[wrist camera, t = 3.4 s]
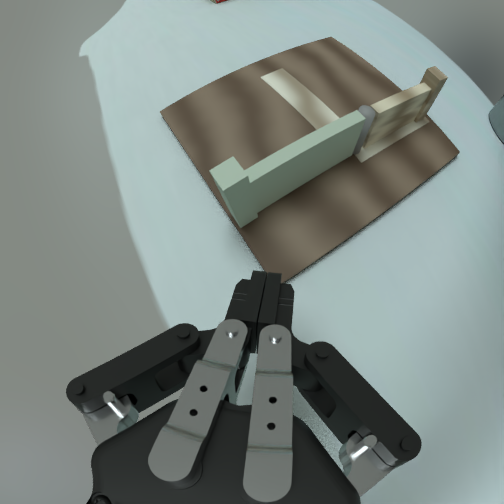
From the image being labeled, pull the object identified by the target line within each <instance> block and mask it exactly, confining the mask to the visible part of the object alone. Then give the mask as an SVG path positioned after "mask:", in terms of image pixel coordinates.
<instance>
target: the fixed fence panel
mask: <svg viewBox="0 0 504 504" xmlns="http://www.w3.org/2000/svg"><path fill="white" fill-rule="evenodd" d="M447 78H448V77H447V76H446V75H444V74H443V73H442V72H441V71H440V70H439V69H438V68H437V67H435V66H434V67H431V68H428V69H427V70H426V72H425V74H424V76H423V78H422V80H421V82H420V84H419V85H416V86H414V87H411V88H409V89H406V90H404V91H402V92H399V93H397V94H395V95H392V96H390V97H388V98H385V99H383V100H381V101H379V102H377V103H374V104H372V105H370V107H371V108H373V109H374V111H375V117H374V119H373V122H372V124H371V126H370V129H369V131H368V134H367V136H366V138H365V141H364V143H363V145H362V148H363V149H365V148H366V147H368V146H370V145H372V144H373V143H375V142H377V141H379V140H380V139H382V138H384V137H386V136H387V135H389V134H391V133H393V132H394V131H396V130H398V129H400V128H401V127H403V126H405V125H407V124H409V123H410V122H412V121H415V122H418V121H420V120H422V119H424V117H425V116H426V114H427V112H428V111H429V109H430V107H431V106H432V104H433V102H434V101H435V99H436V97H437V96H438V94H439V92H440V90H441V89H442V87H443V85H444V83H445V82H446V80H447Z"/></svg>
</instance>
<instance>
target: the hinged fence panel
mask: <svg viewBox="0 0 504 504" xmlns="http://www.w3.org/2000/svg"><path fill="white" fill-rule="evenodd" d="M374 117H375V111H374V109H373V108H371V107H370V106H367V105H362V106H360V107H359V110H356V111H354V112H352V113H349V114H347V115H345V116H343V117H341V118H339V119H337V120H335V121H333V122H331V123H329V124H327V125H325V126H323V127H321V128H319V129H318V130H316V131H314V132H312V133H310V134H308V135H306V136H304V137H302V138H300V139H299V140H297V141H295V142H293V143H291V144H289V145H288V146H286V147H284V148H282V149H280V150H279V151H277V152H275V153H273V154H272V155H270V156H268V157H266V158H265V159H263V160H261V161H259V162H258V163H256V164H254V165H253V166H251V167H249V168H248V169H246V170H243V168H242V167H241V166H240V164H239V163H238V162H237V160H236V159H235V158H234V157H233V156H232V157H231V158H229V159H227V160H226V161H224V162H222V163H221V164H219V165H217V166H216V167H214V168H213V169H211V170H209V171H210V173H211V175H212V177H213V179H214V181H215V183H216V185H217V187H218V189H219V191H220V193H221V195H222V197H223V199H224V201H225V203H226V205H227V207H228V209H229V211H230V213H231V214H232V216H233V217H234V219H235V220H236V222H237V223H238V225H239V226H240V228H242V227H243V226H245V225H247V224H248V223H250V222H251V221H253V220H254V219H256V218H258V214H257V213H258V212H260V211H261V210H263V209H264V208H266V207H268V206H269V205H271V204H272V203H274V202H276V201H277V200H279V199H280V198H282V197H284V196H285V195H287V194H288V193H290V192H292V191H293V190H295V189H297V188H298V187H300V186H301V185H303V184H305V183H306V182H308V181H310V180H311V179H313V178H315V177H316V176H318V175H320V174H321V173H323V172H325V171H326V170H328V169H330V168H331V167H333V166H335V165H336V164H338V163H340V162H341V161H343V160H345V159H346V158H348V157H350V156H351V155H352V154H358V153H359V152H360V150H361V148H362V145H363V143H364V141H365V138H366V136H367V134H368V131H369V129H370V126H371V124H372V122H373V119H374Z"/></svg>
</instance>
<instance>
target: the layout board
mask: <svg viewBox="0 0 504 504" xmlns="http://www.w3.org/2000/svg"><path fill="white" fill-rule="evenodd" d="M399 92H402V90H401V89H400V88H399V87H398V86H396V85H395V84H394V83H393V82H392V81H391V80H389V79H388V78H387V77H386V76H385V75H383V74H382V73H381V72H380V71H378V70H377V69H376V68H375V67H373V66H372V65H371V64H370V63H368V62H367V61H366V60H364V59H363V58H362V57H360V56H359V55H357V54H356V53H355V52H353V51H352V50H350V49H349V48H347V47H346V46H345V45H343V44H342V43H340V42H339V41H337V40H335V39H334V38H332V37H328V38H325V39H321V40H317V41H314V42H311V43H307V44H304V45H301V46H298V47H295V48H292V49H289V50H286V51H283V52H281V53H278V54H275V55H272V56H270V57H267V58H265V59H262V60H260V61H257V62H255V63H252V64H250V65H248V66H245V67H243V68H241V69H239V70H236V71H234V72H232V73H230V74H228V75H226V76H224V77H221V78H219V79H217V80H215V81H213V82H211V83H209V84H207V85H205V86H204V87H202V88H200V89H198V90H196V91H194V92H192V93H191V94H189V95H187V96H185V97H183V98H182V99H180V100H178V101H177V102H175V103H173V104H171V105H170V106H168V107H166V108H165V109H163V110H162V111H160V113H161V115H162V116H163V118H164V119H165V121H166V122H167V124H168V125H169V127H170V129H171V130H172V132H173V133H174V135H175V136H176V138H177V139H178V141H179V142H180V144H181V145H182V147H183V148H184V150H185V151H186V153H187V154H188V156H189V157H190V159H191V160H192V162H193V163H194V165H195V166H196V168H197V169H198V171H199V172H200V174H201V175H202V177H203V178H204V180H205V181H206V183H207V184H208V186H209V187H210V189H211V190H212V192H213V194H214V195H215V197H216V198H217V200H218V201H219V203H220V204H221V206H222V207H223V209H224V210H225V212H226V213H227V215H228V216H229V218H230V219H231V221H232V222H233V224H234V225H235V227H236V228H237V230H238V231H239V233H240V234H241V236H242V237H243V239H244V240H245V242H246V243H247V245H248V246H249V248H250V249H251V251H252V253H253V254H254V256H255V257H256V259H257V260H258V262H259V263H260V265H261V266H262V268H263V269H264V271H265V272H267V274H268V272H273V273H282V277H281V283H284V282H286V281H287V280H289V279H290V278H292V277H293V276H295V275H296V274H298V273H299V272H301V271H302V270H304V269H305V268H307V267H308V266H310V265H311V264H312V263H314V262H315V261H317V260H318V259H320V258H321V257H323V256H324V255H326V254H327V253H328V252H330V251H331V250H333V249H334V248H336V247H337V246H338V245H340V244H341V243H343V242H344V241H345V240H347V239H348V238H350V237H351V236H352V235H354V234H355V233H357V232H358V231H359V230H361V229H362V228H364V227H365V226H366V225H368V224H369V223H370V222H372V221H373V220H375V219H376V218H377V217H379V216H380V215H381V214H383V213H384V212H385V211H387V210H388V209H389V208H391V207H392V206H393V205H395V204H396V203H397V202H399V201H400V200H401V199H403V198H404V197H405V196H407V195H408V194H409V193H410V192H412V191H413V190H414V189H416V188H417V187H418V186H420V185H421V184H422V183H423V182H425V181H426V180H427V179H428V178H430V177H431V176H432V175H434V174H435V173H436V172H437V171H439V170H440V169H441V168H442V167H443V166H445V165H446V164H447V163H448V162H450V161H451V160H452V159H453V158H455V157H456V156H457V155H458V154H459V153H460V152H459V150H458V149H457V148H456V147H455V145H454V144H453V143H452V142H451V141H450V139H449V138H448V137H447V136H446V135H445V134H444V133H443V131H442V130H441V129H440V128H439V127H438V126H437V125H436V124H435V123H434V122H433V120H432V119H431V118H430V117H429V116H428V115H427V114H426V116H425V117H424V119H422V120H420V121H418V122H415V121H412V122H410V123H409V124H407V125H405V126H403V127H401V128H400V129H398V130H396V131H394V132H393V133H391V134H389V135H387V136H386V137H384V138H382V139H380V140H379V141H377V142H375V143H373V144H372V145H370V146H368V147H366V148H365V149H363V148H361V150H360V152H359V153H358V154H352V155H351V156H350V157H348V158H346V159H345V160H343V161H341V162H340V163H338V164H336V165H335V166H333V167H331V168H330V169H328V170H326V171H325V172H323V173H321V174H320V175H318V176H316V177H315V178H313V179H311V180H310V181H308V182H306V183H305V184H303V185H301V186H300V187H298V188H297V189H295V190H293V191H292V192H290V193H288V194H287V195H285V196H284V197H282V198H280V199H279V200H277V201H276V202H274V203H272V204H271V205H269V206H268V207H266V208H264V209H263V210H261V211H260V212H258V213H257V214H258V218H256V219H254V220H253V221H251V222H250V223H248V224H247V225H245V226H243V227H242V228H240V226H239V225H238V223H237V222H236V220H235V219H234V217H233V216H232V214H231V213H230V211H229V209H228V207H227V205H226V203H225V201H224V199H223V197H222V195H221V193H220V191H219V189H218V187H217V185H216V183H215V181H214V179H213V177H212V175H211V173H210V171H209V170H211V169H213V168H214V167H216V166H217V165H219V164H221V163H222V162H224V161H226V160H227V159H229V158H231V157H232V156H233V157H234V158H235V159H236V160H237V162H238V163H239V164H240V166H241V167H242V168H243V170H246V169H248V168H249V167H251V166H253V165H254V164H256V163H258V162H259V161H261V160H263V159H265V158H266V157H268V156H270V155H272V154H273V153H275V152H277V151H279V150H280V149H282V148H284V147H286V146H288V145H289V144H291V143H293V142H295V141H297V140H299V139H300V138H302V137H304V136H306V135H308V134H310V133H312V132H314V131H316V130H318V129H319V128H321V127H323V126H325V125H327V124H329V123H331V122H333V121H335V120H337V119H339V118H341V117H343V116H345V115H347V114H349V113H352V112H354V111H356V110H359V107H360V106H362V105H367V106H370V105H372V104H374V103H377V102H379V101H381V100H383V99H385V98H388V97H390V96H392V95H395V94H397V93H399Z"/></svg>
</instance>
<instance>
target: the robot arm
mask: <svg viewBox="0 0 504 504" xmlns="http://www.w3.org/2000/svg"><path fill="white" fill-rule="evenodd" d="M489 119H490V122H491V125H492V127H493V129H494V130H495V132H496V134H497V135H498V137H499V138H500V139H501V141H502V142H503V143H504V95H503V96H502V97H501V98H500V100H499V101H498V102H497V103H496V105H495V106H494V107H493V108H492V110H491V111H490V113H489ZM281 277H282V273H273V272H268V274H267V272H263V271H253V273H252V276H251V280H247V279H242V280H241V281H240V282H239V283H238V284H236V287H235V290H234V293H233V296H232V299H231V302H230V305H229V308H228V311H227V314H226V317H225V320H224V321H223V322H221V323H220V324H219V325H218V327H217V328H215V329H212V330H205V331H198V329H197V328H196V327H195V326H193V325H191V324H187V323H183V324H179V325H176V326H174V327H172V328H171V329H169V330H167V331H165V332H164V333H161V334H160V335H158V336H156V337H154V338H152V339H150V340H148V341H147V342H145V343H143V344H141V345H139V346H137V347H135V348H133V349H131V350H130V351H127V352H126V353H124V354H122V355H120V356H118V357H116V358H114V359H112V360H110V361H108V362H106V363H104V364H102V365H100V366H98V367H97V368H94V369H92V370H90V371H88V372H87V373H85V374H83V375H81V376H79V377H77V378H75V379H73V380H72V381H71V382H70V383H69V384H68V386H67V389H66V394H67V397H68V399H69V400H70V401H71V402H72V403H73V404H74V405H75V406H76V407H77V409H78V410H79V411H80V412H81V413H82V414H83V416H84V418H85V420H86V423H87V425H88V427H89V429H90V431H91V433H92V435H93V437H94V439H95V441H96V443H97V445H98V447H97V448H96V449H95V451H94V453H93V455H92V460H91V468H92V474H93V491H92V495H91V497H90V499H89V500H88V502H87V503H86V504H361V502H360V496H362V495H363V494H364V493H365V492H367V491H368V490H369V489H371V488H372V487H373V486H374V485H375V484H377V483H378V482H379V481H380V480H381V479H383V478H384V477H385V476H386V475H387V474H388V473H389V472H391V471H392V470H393V469H395V468H397V467H399V466H401V465H403V464H404V463H406V462H408V461H410V460H412V459H413V458H415V457H416V456H417V455H418V453H419V452H420V449H421V439H420V437H419V435H418V434H417V433H416V432H415V431H414V430H413V429H412V428H411V427H410V426H409V425H408V424H407V423H406V421H405V420H404V419H403V418H402V417H401V416H400V415H399V414H398V413H397V412H396V411H395V410H394V409H393V408H392V407H391V406H390V405H389V404H388V403H387V402H386V401H385V400H384V399H383V398H382V397H381V396H380V395H379V393H378V392H377V391H376V390H375V389H374V388H373V387H372V386H371V385H370V384H369V383H368V382H367V381H366V380H365V379H364V378H363V377H362V376H361V375H360V374H359V373H358V372H357V371H356V369H355V368H354V367H353V366H352V365H351V364H350V363H349V362H348V361H347V360H346V359H345V358H344V357H343V356H342V355H341V354H340V353H339V352H338V351H337V350H336V349H335V347H333V346H332V345H331V344H329V343H326V342H315V343H312V344H311V345H309V344H306V343H303V342H301V341H299V340H298V339H297V338H296V337H295V336H294V335H293V333H292V330H291V326H292V315H293V302H294V290H293V288H292V286H291V284H284V283H281ZM256 347H257V354H258V357H257V367H256V373H255V382H254V392H253V401H252V405H243V406H238V405H236V402H237V397H238V393H239V390H240V387H241V384H242V381H243V378H244V375H245V372H246V369H247V363H248V361H249V356H250V353H255V352H256ZM293 385H295V386H297V388H298V390H299V392H300V393H301V394H302V396H303V397H304V398H305V399H306V401H307V402H308V403H309V404H310V406H311V407H312V408H313V409H314V411H315V412H316V413H317V414H318V415H319V417H320V418H321V419H322V420H323V422H324V423H325V424H326V425H327V426H328V428H329V429H330V430H331V431H332V432H333V434H334V435H335V436H336V437H337V438H338V440H339V441H340V442H341V443H342V444H343V445H342V446H341V448H340V450H339V459H340V461H341V463H342V465H343V469H344V471H343V472H342V471H341V469H340V468H339V467H338V465H337V464H336V463H335V461H334V460H333V459H332V458H331V456H330V455H329V454H328V452H327V451H326V450H325V448H324V447H323V446H322V444H321V443H320V442H319V440H318V439H317V437H316V436H315V435H314V433H313V432H312V431H311V429H310V428H309V427H308V426H307V425H306V424H305V423H304V422H303V421H302V420H301V419H299V418H298V417H296V416H294V415H293ZM183 387H184V389H183V391H182V393H181V395H180V397H179V399H177V400H174V401H172V402H170V403H168V404H166V405H165V406H163V407H161V408H160V409H158V410H157V411H155V412H153V413H152V414H150V415H148V416H147V417H145V418H143V419H142V420H140V421H138V422H137V420H138V417H139V413H140V412H141V411H143V410H145V409H147V408H149V407H150V406H152V405H154V404H156V403H157V402H159V401H161V400H163V399H164V398H166V397H168V396H169V395H171V394H173V393H174V392H176V391H178V390H180V389H181V388H183ZM136 422H137V423H136Z"/></svg>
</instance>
